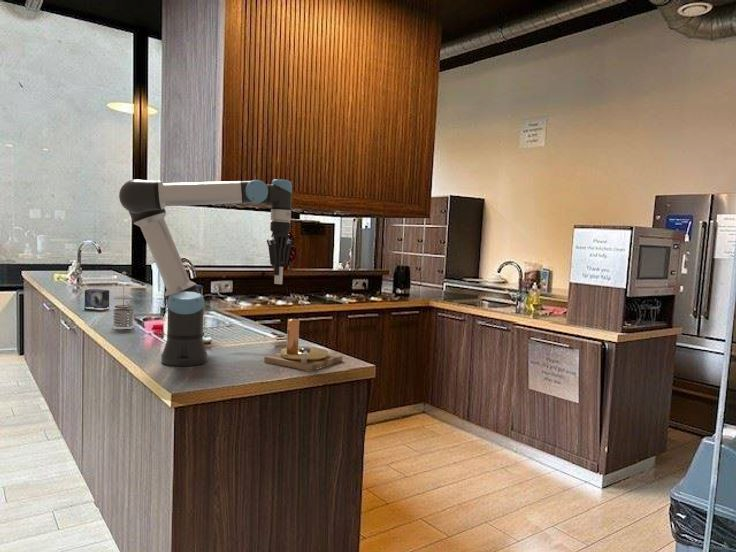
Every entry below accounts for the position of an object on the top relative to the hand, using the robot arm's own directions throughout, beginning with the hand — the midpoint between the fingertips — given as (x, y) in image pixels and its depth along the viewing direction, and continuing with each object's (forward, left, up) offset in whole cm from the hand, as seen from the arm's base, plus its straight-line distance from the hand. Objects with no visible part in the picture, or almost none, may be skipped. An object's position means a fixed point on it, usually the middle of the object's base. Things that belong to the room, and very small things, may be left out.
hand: (278, 283), depth 209 cm
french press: (-7, +79, -27) cm, 84 cm away
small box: (+17, +133, -27) cm, 137 cm away
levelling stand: (-5, -17, -26) cm, 32 cm away
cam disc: (-5, -17, -24) cm, 30 cm away
